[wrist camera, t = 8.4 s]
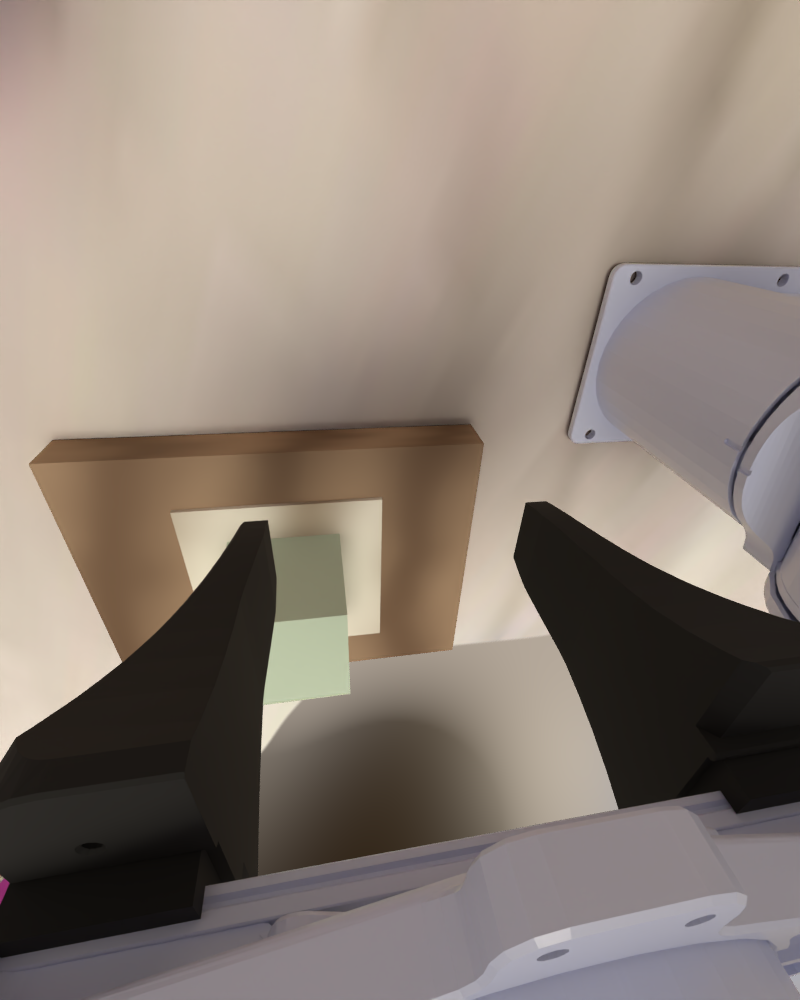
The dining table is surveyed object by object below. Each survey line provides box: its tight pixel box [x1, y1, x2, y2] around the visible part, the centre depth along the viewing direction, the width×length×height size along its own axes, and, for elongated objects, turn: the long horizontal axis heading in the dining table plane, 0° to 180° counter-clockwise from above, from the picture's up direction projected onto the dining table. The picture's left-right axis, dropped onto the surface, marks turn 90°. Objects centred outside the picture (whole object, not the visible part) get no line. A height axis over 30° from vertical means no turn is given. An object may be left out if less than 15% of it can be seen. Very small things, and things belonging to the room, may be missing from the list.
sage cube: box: [226, 534, 350, 705], centre depth 20 cm, size 5×5×5 cm
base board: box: [29, 424, 484, 662], centre depth 23 cm, size 18×14×2 cm
